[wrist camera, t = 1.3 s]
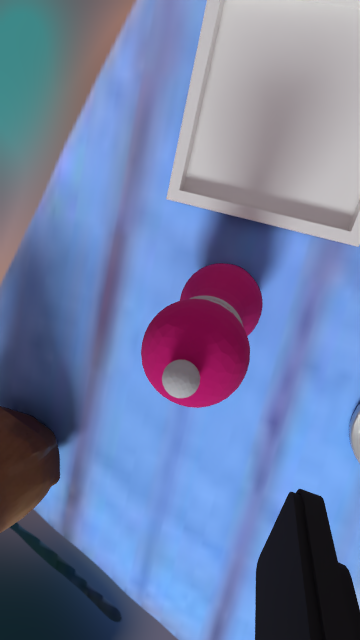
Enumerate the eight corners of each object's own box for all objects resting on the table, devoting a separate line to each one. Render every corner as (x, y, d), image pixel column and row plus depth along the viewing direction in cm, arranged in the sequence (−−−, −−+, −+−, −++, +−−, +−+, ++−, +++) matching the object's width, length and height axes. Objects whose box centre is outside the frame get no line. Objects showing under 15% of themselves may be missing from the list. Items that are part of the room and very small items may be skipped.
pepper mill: (206, 247, 32) (126, 280, 13) (275, 275, 31) (292, 353, 12) (181, 311, 34) (84, 415, 16) (244, 339, 34) (220, 482, 15)
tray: (447, 9, 23) (465, -12, 21) (351, 245, 29) (358, 246, 27) (219, -21, 26) (215, -41, 24) (172, 200, 31) (166, 199, 29)
